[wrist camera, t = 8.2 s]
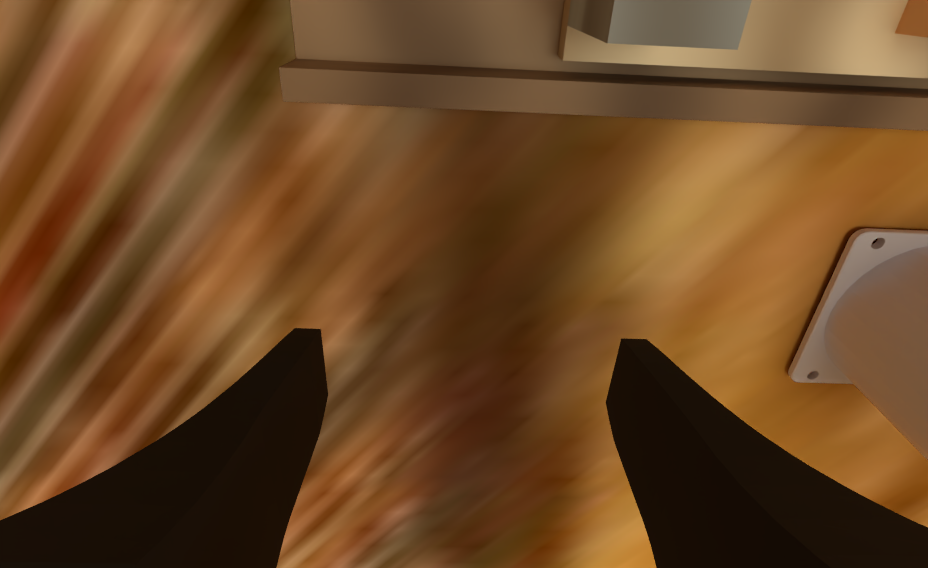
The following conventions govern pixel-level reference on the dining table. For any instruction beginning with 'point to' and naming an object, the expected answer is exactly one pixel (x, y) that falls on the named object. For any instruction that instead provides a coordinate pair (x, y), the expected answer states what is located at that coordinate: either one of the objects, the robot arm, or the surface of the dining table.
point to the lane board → (553, 70)
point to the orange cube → (914, 19)
